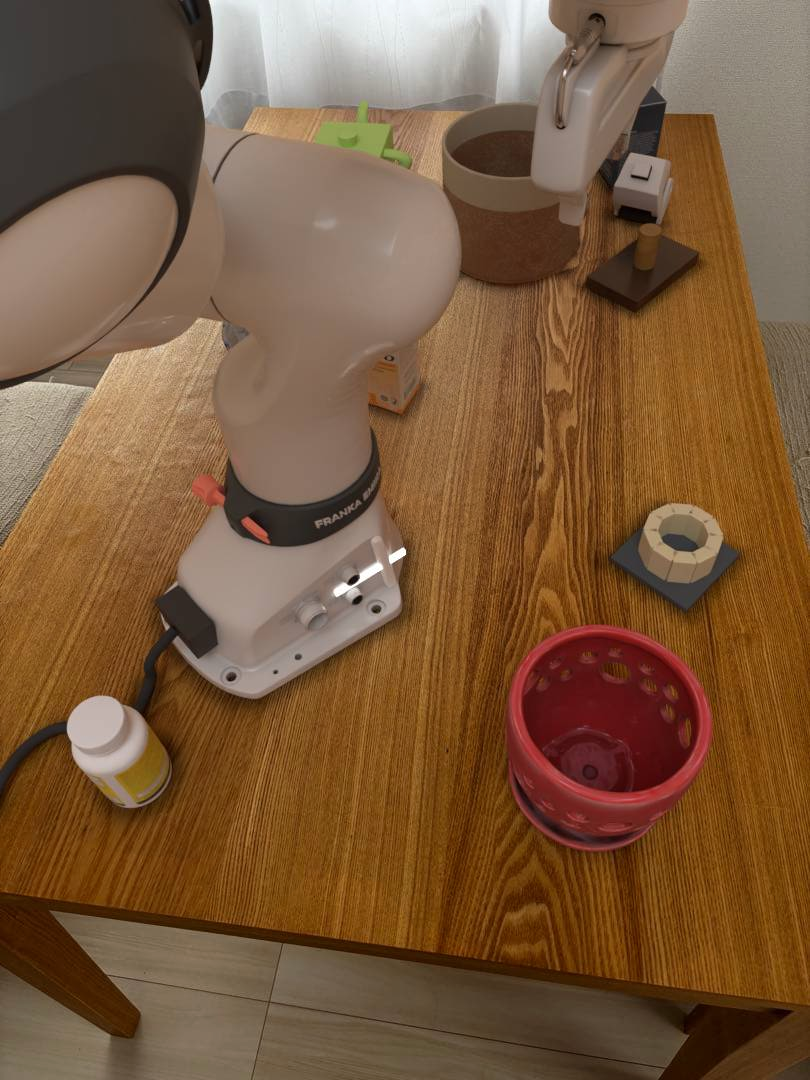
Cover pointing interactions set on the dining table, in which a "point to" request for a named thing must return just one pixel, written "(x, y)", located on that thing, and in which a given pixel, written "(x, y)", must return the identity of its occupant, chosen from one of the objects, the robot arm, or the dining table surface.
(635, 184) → the grey boxy gadget
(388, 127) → the teapot
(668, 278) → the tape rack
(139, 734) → the supplement bottle
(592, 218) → the dining table surface
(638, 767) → the flower pot
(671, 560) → the tape roll
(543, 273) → the planter
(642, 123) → the box
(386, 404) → the supplement box
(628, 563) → the mat
